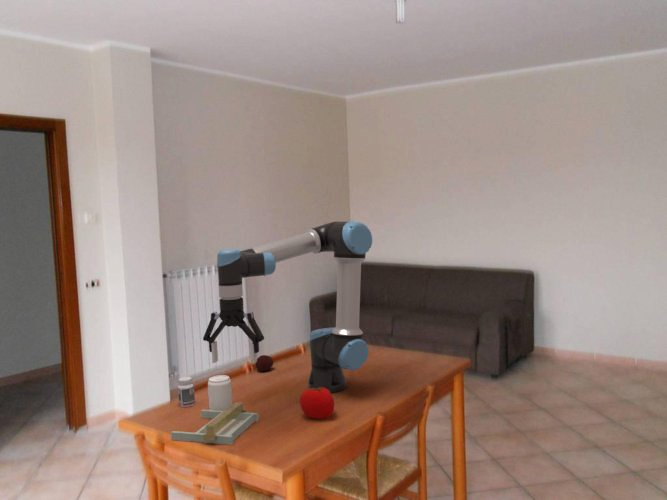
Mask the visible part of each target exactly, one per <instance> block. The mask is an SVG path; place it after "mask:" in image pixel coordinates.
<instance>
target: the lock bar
mask: <svg viewBox="0 0 667 500" xmlns="http://www.w3.org/2000/svg"><path fill="white" fill-rule="evenodd" d="M232 404H233V405H232V406H230V407H229V408H228V409H227V410H225V411H224V412H223V413H221V414H220V415H219V416H218V417H216V418H215V419H214V420H213V421H211V420H210V421H211V422H210V421H209V422H210V423H209V422H208V423H209V424H207V423H206V424H207V425H206V424H205V425H206V434H203V440H205V441H216V435H215V434H216V433H218V432H219V431H220V430H221V429H222V428H224V427H225V426H226V425H227V424H228V423H230V422H231V421H232V420H233V419H234V418H236V417H237V416H238V415H239V414H240V413H242V412H247V408H244V403H243V402H241V401H240V402H239V401H236V402H234V403H232Z"/></svg>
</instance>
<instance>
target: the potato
mask: <svg viewBox="0 0 667 500" xmlns="http://www.w3.org/2000/svg"><path fill="white" fill-rule="evenodd" d="M273 365H274V359H273V358H272V357H271V356H269V355H266V354H265V355H264V354H263V355H260V356H257V362H256V363H255V368H256V369H257V371H259V372H266V371H269V370H270V369H271V368H272V367H273Z"/></svg>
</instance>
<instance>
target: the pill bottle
mask: <svg viewBox="0 0 667 500" xmlns="http://www.w3.org/2000/svg"><path fill="white" fill-rule="evenodd" d="M192 379H193V378H192V377H191V376H182V377H179V378H178V383H179V384H178V386H177V394H178V405H179V407H180V408H190V407H192V406H194V405H195V404H196V399H195V385H194V384H193V382H192V381H193V380H192Z"/></svg>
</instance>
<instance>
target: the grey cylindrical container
mask: <svg viewBox="0 0 667 500" xmlns="http://www.w3.org/2000/svg"><path fill="white" fill-rule="evenodd" d="M232 389H233V388H232V380H231V379H230V376H229V375H223V374H222V375H221V374H220V375H218V374H217V375H214V376H211V377H209V378H208V381H207V390H208V391H207V393H208V404H209V405H208V408H209V409H208V410H216V411H225V410H227V409H228V408H229V407H230V406H232V405H233V404H234V403H233V391H232Z"/></svg>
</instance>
